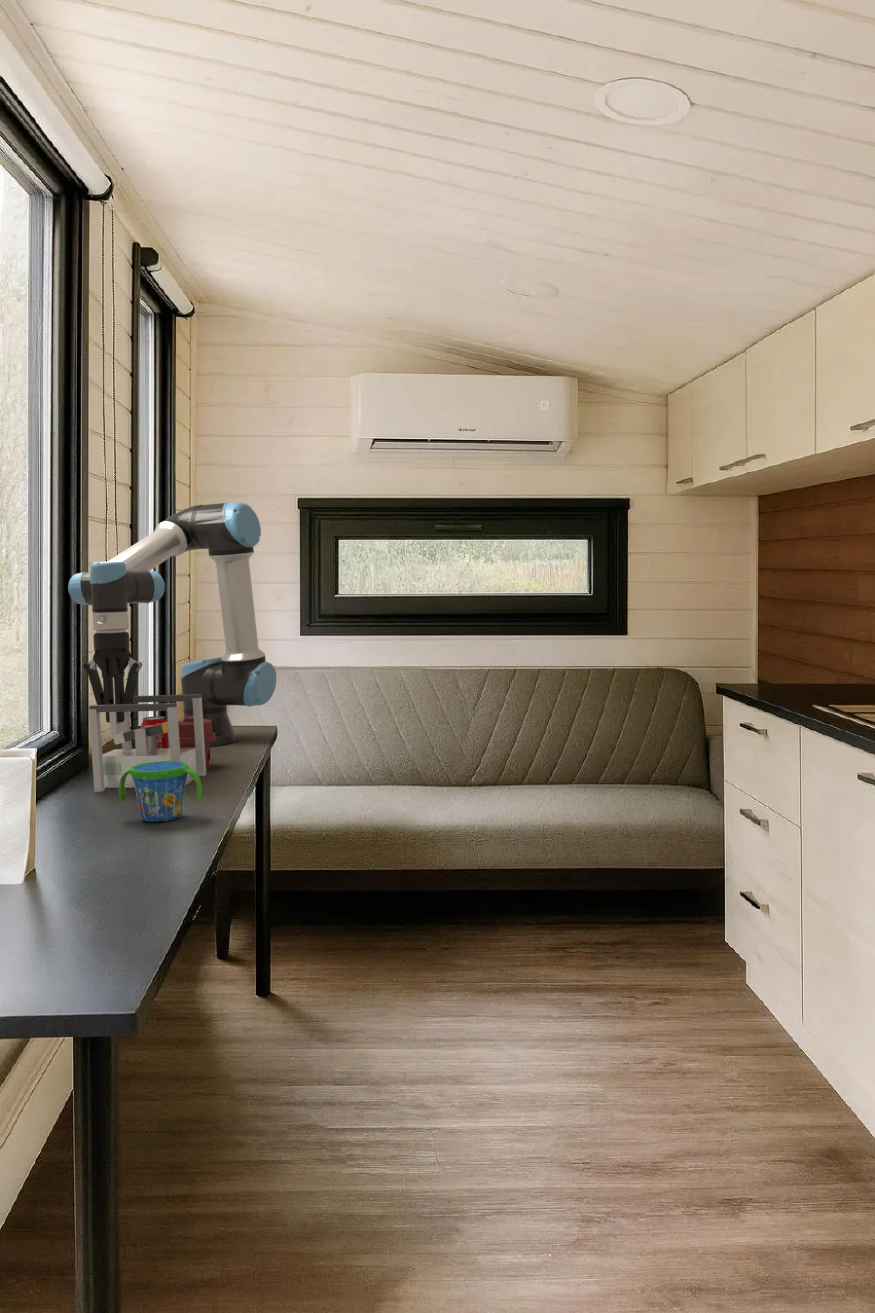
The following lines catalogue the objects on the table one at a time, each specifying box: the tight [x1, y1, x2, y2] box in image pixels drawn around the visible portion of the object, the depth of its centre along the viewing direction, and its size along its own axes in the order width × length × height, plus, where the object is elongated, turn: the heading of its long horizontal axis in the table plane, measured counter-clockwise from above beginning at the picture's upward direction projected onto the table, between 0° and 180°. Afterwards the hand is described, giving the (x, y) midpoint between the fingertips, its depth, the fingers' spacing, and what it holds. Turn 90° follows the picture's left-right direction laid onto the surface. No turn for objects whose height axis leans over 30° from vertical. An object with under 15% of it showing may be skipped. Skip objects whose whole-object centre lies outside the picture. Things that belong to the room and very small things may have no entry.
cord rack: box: [88, 694, 207, 793], centre depth 220 cm, size 17×19×19 cm
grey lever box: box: [102, 726, 197, 789], centre depth 220 cm, size 9×19×12 cm, turn 84°
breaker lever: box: [112, 721, 169, 745], centre depth 219 cm, size 3×14×2 cm, turn 83°
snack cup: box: [118, 761, 203, 823], centre depth 187 cm, size 16×10×10 cm
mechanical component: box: [178, 716, 216, 770], centre depth 235 cm, size 12×10×10 cm
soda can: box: [140, 715, 170, 748], centre depth 239 cm, size 6×6×12 cm
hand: (116, 737), depth 220 cm, fingers closed
